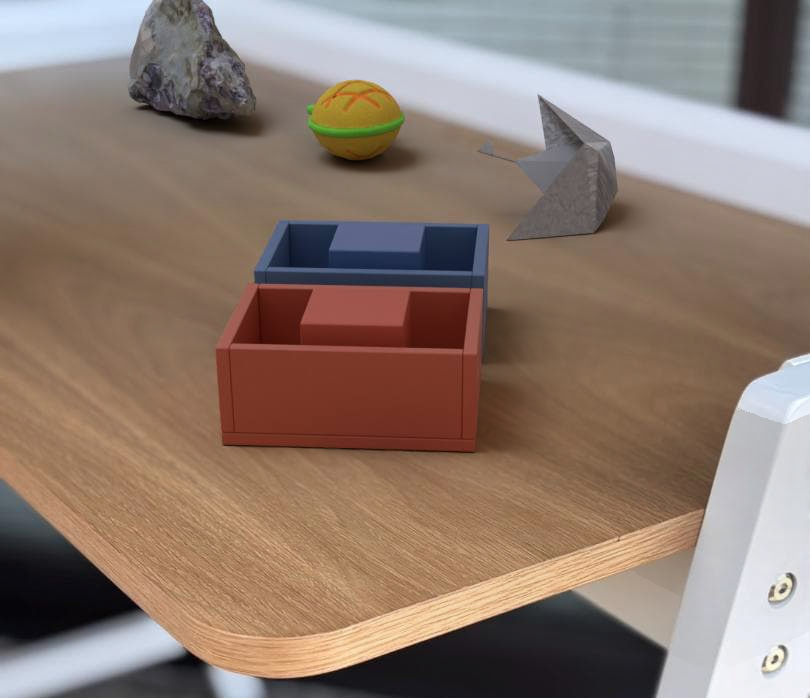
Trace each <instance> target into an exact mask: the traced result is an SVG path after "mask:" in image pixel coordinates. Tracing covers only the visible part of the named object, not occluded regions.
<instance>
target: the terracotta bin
mask: <svg viewBox="0 0 810 698" xmlns="http://www.w3.org/2000/svg"><path fill="white" fill-rule="evenodd" d="M315 288H322V289H367V290H409V291H410V292H411V348H395V347H354V346H313V345H301V334H300V323H301V320H302V318H303V315H304V313H305V310H306V307H307V305H308V302H309V299H310V297H311V294H312V292H313V289H315ZM482 325H483V289H480V288H472V289H471V290H470V288H436V287H389V286H343V285H297V284H260V285H259V284H255V283H247V284H246V285H245V287H244V290H243V292H242V294H241V296H240V297H239V300H238V302H237V304H236V306H235V308H234V310H233V312H232V315H231V316H230V318H229V320H228V322H227V324H226V326H225V328H224V330H223V332H222V334H221V336H220V338H219V339H218V342H217V344H216V346H215V348H214V349H215V350H214V351H215V364H216V379H217V393H218V407H219V419H220V421H219V422H220V431H221V434H220V435H221V436H220V437H221V443H222V445H228V446H229V445H231V446H261V447H262V446H264V447H265V446H266V447H297V448H300V447H301V448H330V449H331V448H334V449H365V450H366V449H369V450H397V451H398V450H402V451H434V452H465V453H466V452H467V453H469V452H470V453H474V452H476V447H477V435H478V424H479V423H478V422H479V421H478V420H479V412H480V411H479V410H480V400H481V399H480V398H481V386H482V371H483V370H482V369H483V368H482V366H483V365H482V364H483V363H482Z"/></svg>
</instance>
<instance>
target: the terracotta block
mask: <svg viewBox="0 0 810 698" xmlns="http://www.w3.org/2000/svg"><path fill="white" fill-rule="evenodd" d="M300 334H301V345H313V346H354V347H395V348H411V292H410V291H409V290H367V289H322V288H315V289H313V292H312V294H311V297H310V299H309V302H308V305H307V307H306V310H305V313H304V315H303V318H302V320H301V323H300Z"/></svg>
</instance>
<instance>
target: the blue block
mask: <svg viewBox="0 0 810 698" xmlns="http://www.w3.org/2000/svg"><path fill="white" fill-rule="evenodd" d="M329 268H335V269H383V270H425V225H424V224H382V223H339V225H338V227H337V230H336V233H335V235H334V238H333V241H332V243H331V246H330V248H329Z"/></svg>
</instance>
